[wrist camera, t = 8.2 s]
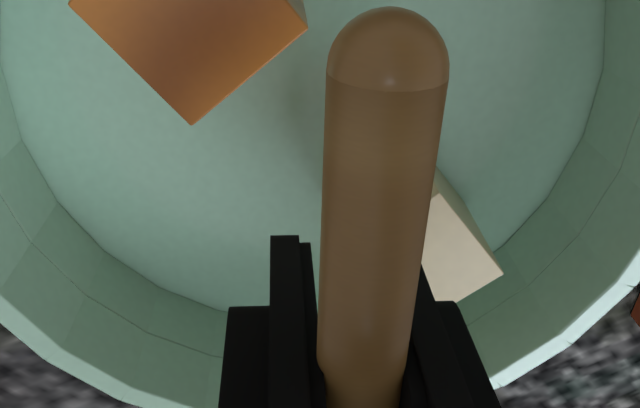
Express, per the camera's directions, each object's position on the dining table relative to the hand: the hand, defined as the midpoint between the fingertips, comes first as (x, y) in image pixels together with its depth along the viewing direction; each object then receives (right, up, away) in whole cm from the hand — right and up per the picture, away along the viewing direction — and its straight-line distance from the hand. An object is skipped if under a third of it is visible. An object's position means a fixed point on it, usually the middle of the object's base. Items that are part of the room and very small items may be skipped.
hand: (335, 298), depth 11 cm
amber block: (-4, +9, +6) cm, 11 cm away
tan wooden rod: (0, -1, -2) cm, 3 cm away
